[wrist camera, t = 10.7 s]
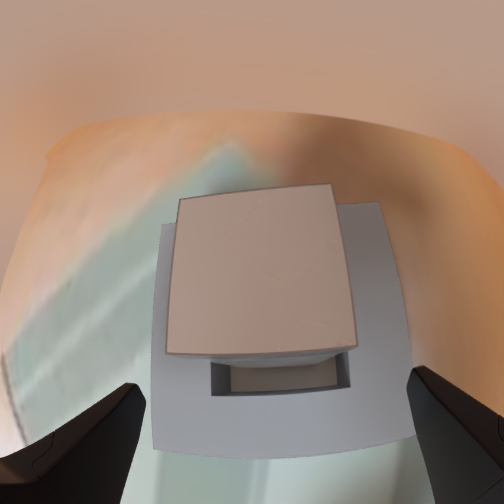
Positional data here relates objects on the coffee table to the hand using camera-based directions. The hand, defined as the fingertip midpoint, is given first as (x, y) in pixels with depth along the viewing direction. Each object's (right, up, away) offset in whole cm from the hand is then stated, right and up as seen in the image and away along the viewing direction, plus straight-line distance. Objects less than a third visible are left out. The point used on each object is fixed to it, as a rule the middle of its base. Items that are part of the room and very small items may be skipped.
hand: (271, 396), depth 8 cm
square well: (+1, -2, +11) cm, 11 cm away
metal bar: (+1, -1, +10) cm, 10 cm away
